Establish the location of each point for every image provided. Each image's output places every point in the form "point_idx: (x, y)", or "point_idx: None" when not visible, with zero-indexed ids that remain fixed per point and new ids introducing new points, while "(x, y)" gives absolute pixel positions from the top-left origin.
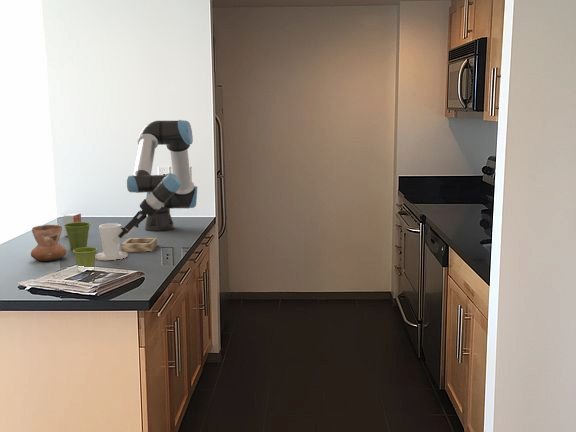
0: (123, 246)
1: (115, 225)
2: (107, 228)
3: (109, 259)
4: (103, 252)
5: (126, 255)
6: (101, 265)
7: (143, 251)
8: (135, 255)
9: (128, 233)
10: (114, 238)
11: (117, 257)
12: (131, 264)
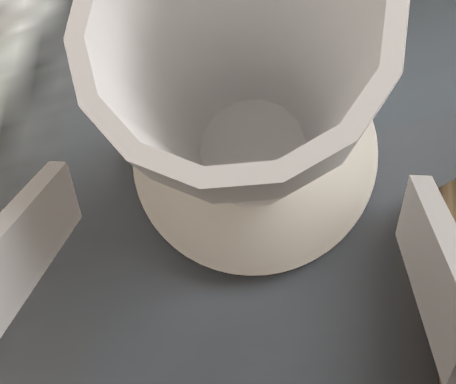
0: (450, 200)
1: (369, 77)
2: (73, 38)
3: (135, 169)
4: (234, 91)
5: (229, 273)
6: (19, 151)
7: (439, 380)
8: (297, 332)
9: (410, 268)
10: (34, 182)
11: (157, 219)
12: (12, 354)
